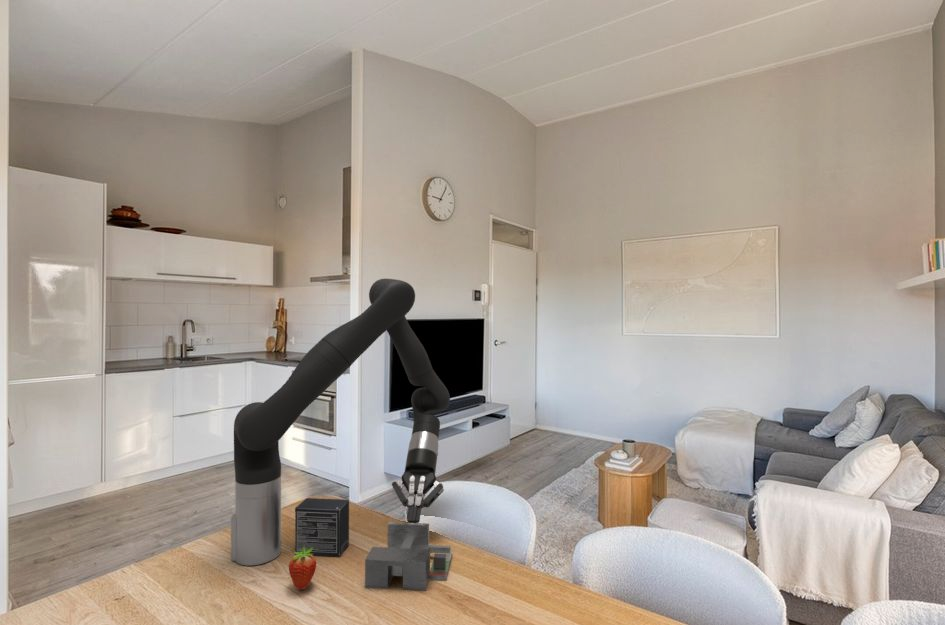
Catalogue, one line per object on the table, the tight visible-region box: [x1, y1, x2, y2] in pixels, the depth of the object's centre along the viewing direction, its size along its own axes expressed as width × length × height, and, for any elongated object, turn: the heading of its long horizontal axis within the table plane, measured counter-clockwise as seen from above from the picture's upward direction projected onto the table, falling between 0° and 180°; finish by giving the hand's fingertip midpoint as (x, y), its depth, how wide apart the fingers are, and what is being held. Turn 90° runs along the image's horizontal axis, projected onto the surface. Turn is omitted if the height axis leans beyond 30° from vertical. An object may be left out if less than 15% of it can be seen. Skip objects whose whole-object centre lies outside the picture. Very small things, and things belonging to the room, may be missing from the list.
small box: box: [294, 497, 350, 558], centre depth 108 cm, size 11×6×10 cm, turn 84°
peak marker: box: [433, 553, 446, 569], centre depth 99 cm, size 2×2×2 cm, turn 85°
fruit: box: [288, 546, 317, 591], centre depth 93 cm, size 5×5×8 cm
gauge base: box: [364, 546, 453, 592], centre depth 100 cm, size 16×14×6 cm
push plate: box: [387, 521, 452, 577], centre depth 100 cm, size 14×11×7 cm
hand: (412, 524), depth 109 cm, fingers closed
